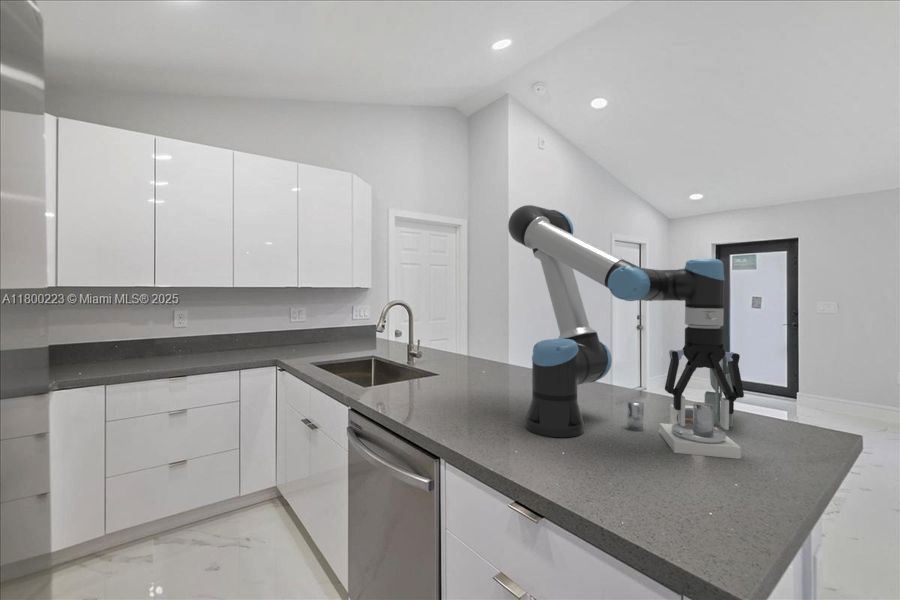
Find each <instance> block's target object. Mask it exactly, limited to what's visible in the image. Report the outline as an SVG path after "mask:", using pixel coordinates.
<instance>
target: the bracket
mask: <svg viewBox="0 0 900 600" xmlns="http://www.w3.org/2000/svg"><path fill="white" fill-rule="evenodd" d="M723 359H724V358H723ZM723 359H722V360H721V361H720V362H719V364H720V366H721V368H722V372H723V373H724V371H723V370H724V369H723V367H724V366H723V365H724V361H723ZM709 378H710V379H709V380H710V386H711V388H712V389H713V390H714V391H707V390H706V391H705V392H704V403H709V404H712V405H714V425H716V426H719V425H720V405H721V398H723V392H722V389H721V387H720V385H719V383H718V381H717V379H716V377H715V375H714V373H713V371H712V370H711V368H709ZM725 378H726V380H727V382H728V384H729V386H730V388H731V390H732V392H733V388H732V383H731V378H730V373H729V367H728V361H726V374H725ZM733 424H734V413H733V414H729V428H733V426H734V425H733Z"/></svg>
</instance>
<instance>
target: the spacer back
mask: <svg viewBox="0 0 900 600" xmlns="http://www.w3.org/2000/svg"><path fill="white" fill-rule="evenodd" d="M626 404H627V407H626V410H627V411H626V412H627V413H626V428H627V429H628V430H630V431H634V432H642V431H644V426H645V425H644V423H645V422H644V420H645V419H644V418H645V417H644V411H645V410H644V409H645V405H644V404H645V403H644V402H643V401H639V400H628V401H627V402H626Z"/></svg>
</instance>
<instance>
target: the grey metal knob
mask: <svg viewBox="0 0 900 600" xmlns="http://www.w3.org/2000/svg"><path fill="white" fill-rule="evenodd" d="M692 406H693V434H694V435H696V436H699V437H703V438H713V437H714V428H715V426H714V425H715V424H714V405H712V404H709V403H705V402H703V401H702V402H700V401H697V402H696V401H695V402H693V404H692Z"/></svg>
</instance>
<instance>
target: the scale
mask: <svg viewBox="0 0 900 600" xmlns="http://www.w3.org/2000/svg"><path fill="white" fill-rule="evenodd" d="M685 423H689V424H693V405H687V404H685ZM674 424H679V423H678V410H675V409H674V406H673V404H672V403H671V404H669V423H663V422H662V423H661V422H660V423H659V434H660V435H661V437H662V438H663V439H664V441H665V442H666V444H667V445H668V446H669V447H670V449H671V450H672V451H673V453H675V454H683V455H684V454H685V455H695V456H706V457H716V458H727V459H735V460H736V459H737V460H741V458H742V454H741V453H742V448H741V447H740V445H738V444H737V443H736V442H735V441H733V440H732V439H731V438H729V437H728V436H727V435H726V441H725V442H722V443H704V442H697V441H692V440H688V439H684V438H681V437H679V436H677V435H675V434H673V433H672V425H674ZM715 428H716V429H718V427H715Z"/></svg>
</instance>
